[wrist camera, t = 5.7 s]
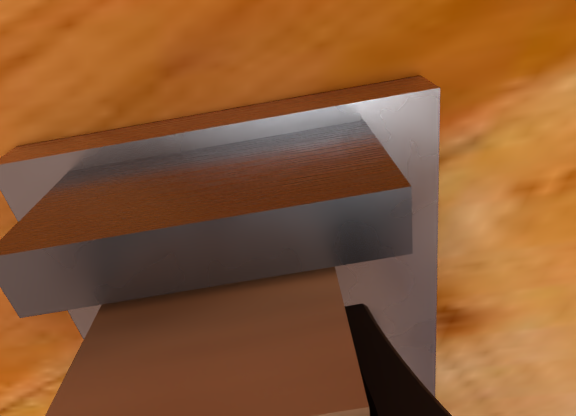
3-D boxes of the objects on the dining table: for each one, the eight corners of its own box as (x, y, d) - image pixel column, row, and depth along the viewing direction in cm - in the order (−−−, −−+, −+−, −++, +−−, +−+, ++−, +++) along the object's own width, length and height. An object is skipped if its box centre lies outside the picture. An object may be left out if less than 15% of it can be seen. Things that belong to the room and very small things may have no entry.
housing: (340, 340, 13) (406, 658, 7) (188, 364, 14) (121, 694, 7) (319, 204, 11) (391, 501, 5) (136, 236, 11) (-29, 561, 5)
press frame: (422, 455, 21) (469, 595, 16) (190, 490, 22) (170, 637, 17) (420, 75, 12) (526, 141, 7) (16, 146, 12) (-139, 253, 8)
